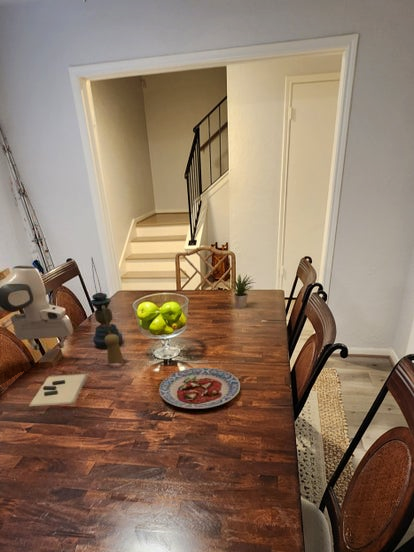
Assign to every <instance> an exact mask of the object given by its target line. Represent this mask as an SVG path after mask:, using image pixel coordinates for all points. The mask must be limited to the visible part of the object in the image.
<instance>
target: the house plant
mask: <svg viewBox="0 0 414 552" xmlns="http://www.w3.org/2000/svg"><path fill="white" fill-rule="evenodd" d="M247 276H248V274H246V275H245V276H244V278H243V279H242V277H241V274H238V276H237V278H236V279H235V278H232V277H231V279H232V282H233V283H234V285H235V286H234V285H230V286H229V288H232V289H233V297H234V302H235V303H234V304H235V307H236V308H238V309H244V308H246V307H247V302H248V296H249V295H248V294H249V293H247V292H250V289H252V288H253V285H251V284H255V283H256V281H254V278H251V277H252V276H251V275H250V276H248V277H247ZM250 278H251V279H250ZM236 280H237V281H236Z"/></svg>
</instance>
